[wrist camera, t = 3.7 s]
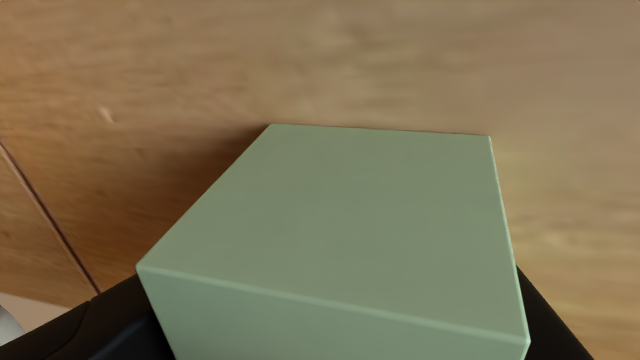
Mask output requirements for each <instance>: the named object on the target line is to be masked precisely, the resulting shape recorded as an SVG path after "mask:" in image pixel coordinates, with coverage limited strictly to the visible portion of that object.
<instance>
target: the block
mask: <svg viewBox="0 0 640 360" xmlns="http://www.w3.org/2000/svg"><path fill="white" fill-rule="evenodd" d="M135 271H136V273H137V275H138V277H139V280H140V282H141V284H142V286H143V288H144V291H145V293H146V295H147V297H148V299H149V302H150V304H151V306H152V308H153V310H154V313H155V315H156V317H157V319H158V321H159V324H160V326H161V328H162V330H163V332H164V335H165V337H166V339H167V341H168V343H169V346H170V348H171V350H172V352H173V354H174V357H175V359H176V360H524V358H525V356H526V353H527V350H528V348H529V345H530V342H531V340H530V335H529V330H528V325H527V320H526V315H525V310H524V305H523V300H522V295H521V290H520V285H519V280H518V275H517V270H516V265H515V260H514V255H513V250H512V245H511V240H510V235H509V230H508V225H507V220H506V215H505V210H504V205H503V199H502V194H501V189H500V184H499V179H498V174H497V169H496V164H495V159H494V154H493V149H492V144H491V139H490V137H489V136H485V135H468V134H451V133H433V132H416V131H399V130H381V129H364V128H347V127H329V126H312V125H295V124H277V123H272V124H270V125H269V126H268V127H267V128H266V129H265V130H264V131H263V132H262V133H261V134H260V135H259V136H258V137H257V139H256V140H255V141H254V142H253V143H252V144H251V145H250V146H249V147H248V148H247V149H246V150H245V151H244V152H243V153H242V154H241V155H240V156H239V157H238V158H237V159H236V160H235V161H234V162H233V163H232V164H231V165H230V167H229V168H228V169H227V170H226V171H225V172H224V173H223V174H222V175H221V176H220V177H219V178H218V179H217V180H216V181H215V182H214V183H213V184H212V185H211V186H210V187H209V188H208V189H207V190H206V191H205V192H204V194H203V195H202V196H201V197H200V198H199V199H198V200H197V201H196V202H195V203H194V204H193V205H192V206H191V207H190V208H189V209H188V210H187V211H186V212H185V213H184V214H183V215H182V216H181V217H180V218H179V219H178V220H177V222H176V223H175V224H174V225H173V226H172V227H171V228H170V229H169V230H168V231H167V232H166V233H165V234H164V235H163V236H162V237H161V238H160V239H159V240H158V241H157V242H156V243H155V244H154V245H153V246H152V247H151V249H150V250H149V251H148V252H147V253H146V254H145V255H144V256H143V257H142V258H141V259H140V260H139V261H138V262H137V263H136V265H135Z"/></svg>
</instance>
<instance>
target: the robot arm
mask: <svg viewBox="0 0 640 360" xmlns="http://www.w3.org/2000/svg"><path fill="white" fill-rule="evenodd" d="M515 265H516V264H515ZM516 270H517V275H518V280H519V285H520V290H521V295H522V300H523V305H524V310H525V315H526V320H527V325H528V330H529V335H530V340H531V342H530V345H529V348H528V350H527V353H526V356H525V358H524V360H594V359H593V357H592V356H591V355H590V354H589V353H588V351H587V350H586V349H585V348H584V347H583V345H582V344H581V343H580V342H579V340H578V339H577V338H576V337H575V336H574V334H573V333H572V332H571V331H570V329H569V328H568V327H567V326H566V325H565V323H564V322H563V321H562V320H561V319H560V317H559V316H558V315H557V314H556V312H555V311H554V310H553V309H552V308H551V306H550V305H549V304H548V303H547V302H546V300H545V299H544V298H543V297H542V295H541V294H540V293H539V292H538V291H537V289H536V288H535V287H534V286H533V285H532V283H531V282H530V281H529V280H528V278H527V277H526V276H525V275H524V274H523V272H522V271H521V270H520V269H519V268H518V266H517V265H516ZM0 360H176V359H175V357H174V354H173V352H172V350H171V348H170V346H169V343H168V341H167V339H166V337H165V335H164V332H163V330H162V328H161V326H160V324H159V321H158V319H157V317H156V315H155V313H154V310H153V308H152V306H151V304H150V302H149V299H148V297H147V295H146V293H145V291H144V288H143V286H142V284H141V282H140V280H139V277H138V275H137V274H135V275H133V276H131V277H129V278H128V279H126V280H124V281H122V282H120V283H119V284H117V285H115V286H113V287H111V288H110V289H108V290H106V291H104V292H102V293H100V294H99V295H97V296H95V297H93V298H92V299H91V301H86V302H84V303H82V304H81V305H79V306H77V307H75V308H73V309H72V310H70V311H68V312H66V313H64V314H62V315H60V316H59V317H57V318H55V319H53V320H51V321H49V322H47V323H46V324H44V325H42V326H40V327H38V328H36V329H34V330H33V331H30V332H28V333H26V334H24V335H22V336H20V337H18V338H16V339H14V340H12V341H10V342H8V343H6V344H4V345H2V346H0Z"/></svg>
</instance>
